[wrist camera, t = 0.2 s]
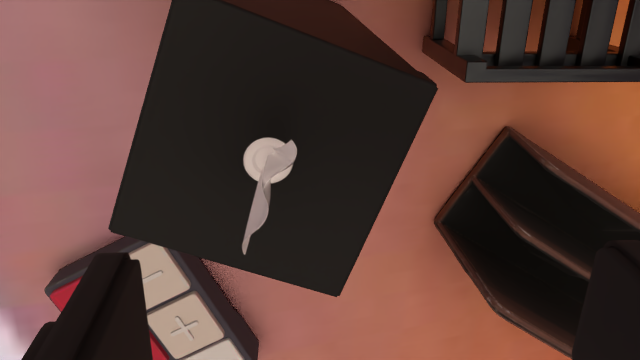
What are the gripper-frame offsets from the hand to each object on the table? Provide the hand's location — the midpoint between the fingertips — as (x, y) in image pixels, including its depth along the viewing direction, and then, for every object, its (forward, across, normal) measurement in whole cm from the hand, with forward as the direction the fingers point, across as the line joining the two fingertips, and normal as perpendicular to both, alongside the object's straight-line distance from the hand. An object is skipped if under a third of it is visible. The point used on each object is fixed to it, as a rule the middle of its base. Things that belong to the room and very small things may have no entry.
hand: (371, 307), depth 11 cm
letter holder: (+31, -22, +15) cm, 41 cm away
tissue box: (+31, +2, -1) cm, 31 cm away
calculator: (+31, +12, +22) cm, 40 cm away
